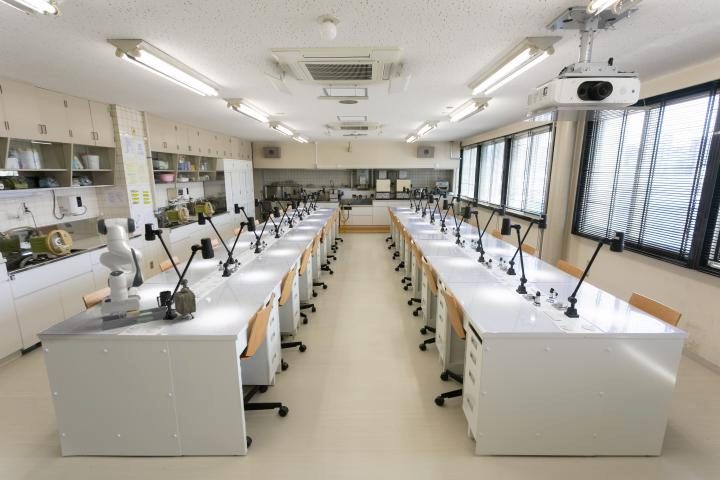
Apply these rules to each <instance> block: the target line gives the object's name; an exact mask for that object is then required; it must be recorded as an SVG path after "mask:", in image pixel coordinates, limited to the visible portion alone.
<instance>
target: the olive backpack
mask: <svg viewBox="0 0 720 480" xmlns="http://www.w3.org/2000/svg"><path fill="white" fill-rule="evenodd" d="M181 284H182V288H180V289H179V290H180V291H177V292H174V294H175V295H174V294H173V299H174V300H173V301H174V309H175V311H176V312H177V313H178V314H179V315H182V316H181V319H184V318H185V315H188V314H189V315H190V316H191V319H194V318H195V316H194V315H193V313H196V312H197V303H196V295H195V292H194V291H193V290H191V289H189V288H188V287H186V286H187V285H186V284H187V283H186V282H185V281H184V280H182V282H181Z"/></svg>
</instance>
